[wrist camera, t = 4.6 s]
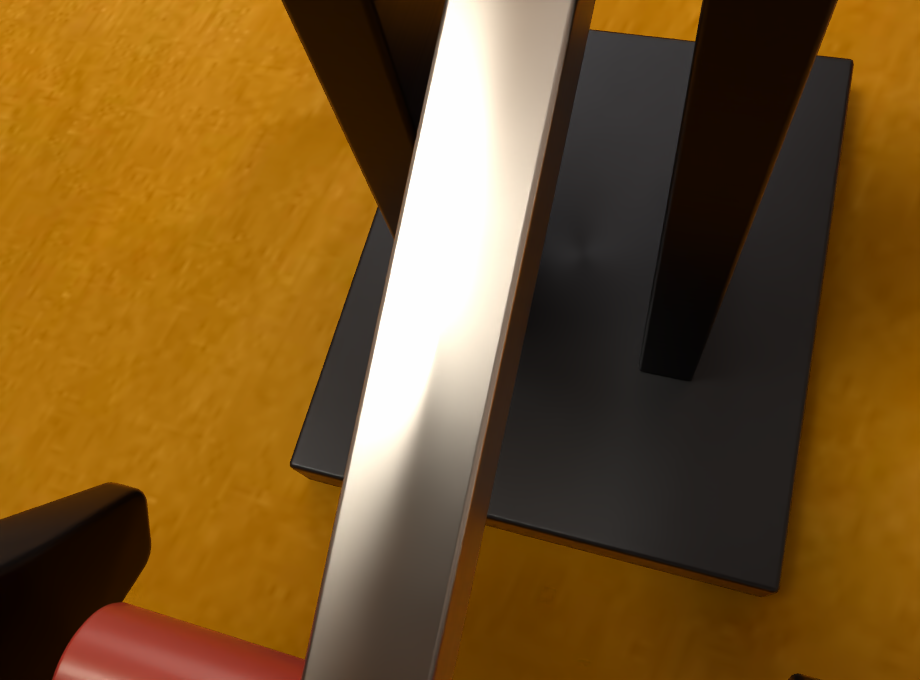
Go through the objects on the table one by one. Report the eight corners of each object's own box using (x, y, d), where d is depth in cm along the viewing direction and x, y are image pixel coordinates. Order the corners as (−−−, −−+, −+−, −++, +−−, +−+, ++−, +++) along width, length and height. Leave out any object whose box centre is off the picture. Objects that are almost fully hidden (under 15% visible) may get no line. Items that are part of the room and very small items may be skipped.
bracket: (765, 598, 15) (1536, 366, 3) (307, 479, 17) (-391, 47, 5) (839, 94, 18) (1323, -982, 6) (451, 46, 20) (253, -831, 8)
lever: (666, 856, 8) (677, 1067, 5) (153, 683, 9) (-23, 789, 6) (906, -292, 8) (1019, -588, 5) (365, -304, 9) (265, -549, 7)
